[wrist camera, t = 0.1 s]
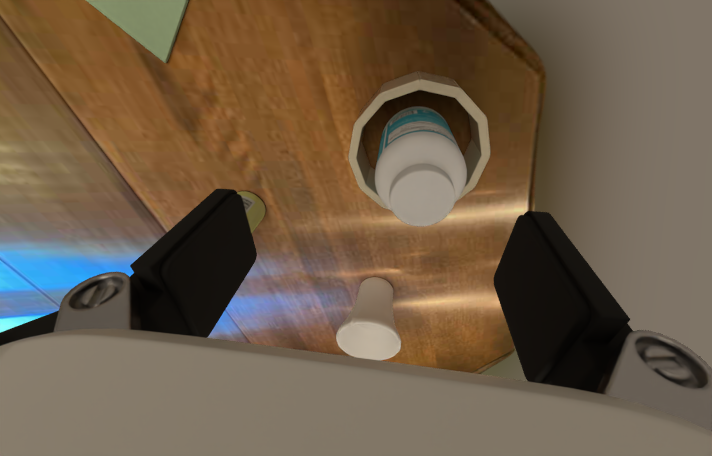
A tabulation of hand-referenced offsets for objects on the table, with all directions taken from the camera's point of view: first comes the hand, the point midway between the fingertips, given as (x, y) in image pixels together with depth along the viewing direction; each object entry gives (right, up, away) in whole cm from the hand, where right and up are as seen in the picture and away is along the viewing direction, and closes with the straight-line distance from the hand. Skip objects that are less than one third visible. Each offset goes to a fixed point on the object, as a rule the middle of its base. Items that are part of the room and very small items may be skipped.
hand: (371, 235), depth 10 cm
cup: (+2, -9, +36) cm, 38 cm away
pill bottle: (+6, +10, +22) cm, 25 cm away
